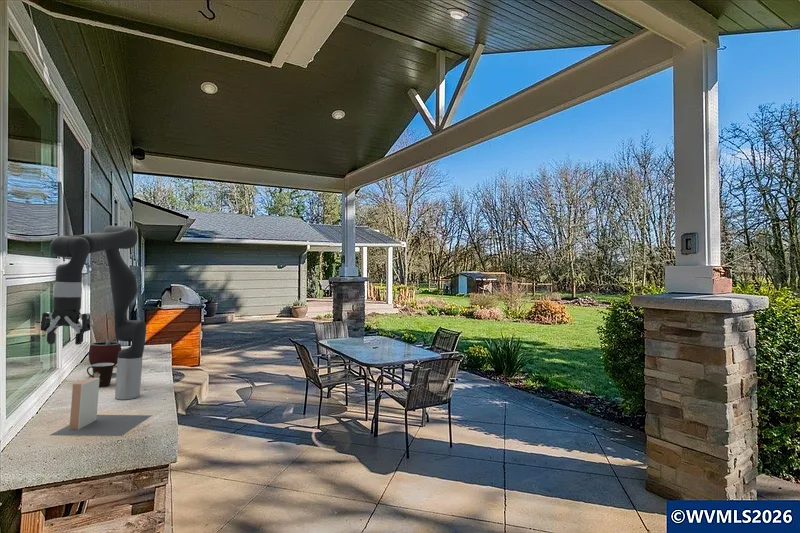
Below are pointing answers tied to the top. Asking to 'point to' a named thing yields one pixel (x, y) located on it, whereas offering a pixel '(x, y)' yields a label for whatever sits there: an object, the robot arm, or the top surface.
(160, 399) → the top surface
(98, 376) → the coffee mug
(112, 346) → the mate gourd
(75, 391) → the tile
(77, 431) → the mat
